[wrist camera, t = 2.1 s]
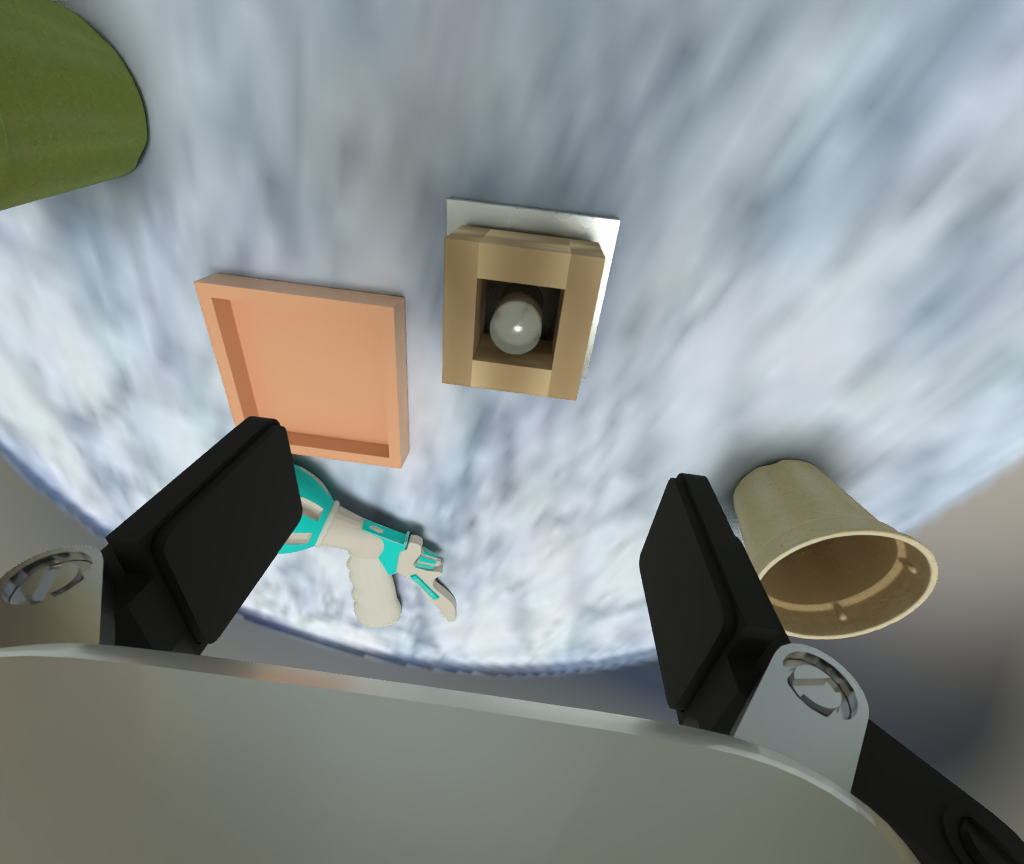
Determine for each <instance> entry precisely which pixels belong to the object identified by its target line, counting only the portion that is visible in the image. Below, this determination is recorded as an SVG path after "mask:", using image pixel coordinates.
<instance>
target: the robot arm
mask: <svg viewBox="0 0 1024 864" xmlns="http://www.w3.org/2000/svg"><path fill="white" fill-rule="evenodd" d="M302 513H303V507H302V502H301V498H300V493H299V488H298V483H297V478H296V473H295V469H294V464H293V459H292V454H291V449H290V445H289V440H288V435H287V431H286V428H285V427H284V426H281V425H280V423H279V422H278V420H276V419H272V418H265V417H257V416H249V417H248V418H246V419H245V420H244V421H242V422H241V423H240V424H239V425H238V426H236V427H235V428H234V429H233V430H232V431H231V432H229V433H228V434H227V435H226V436H225V437H223V438H222V439H221V440H220V441H219V442H218V443H216V444H215V445H214V446H213V447H212V448H210V449H209V450H208V451H207V452H206V453H205V454H203V455H202V456H201V457H200V458H199V459H197V460H196V461H195V462H194V463H193V464H192V465H190V466H189V467H188V468H187V469H186V470H184V471H183V472H182V473H181V474H180V475H179V476H177V477H176V478H175V479H174V480H173V481H171V482H170V483H169V484H168V485H167V486H166V487H164V488H163V489H162V490H161V491H160V492H158V493H157V494H156V495H155V496H154V497H153V498H151V499H150V500H149V501H148V502H147V503H145V504H144V505H143V506H142V507H141V508H140V509H138V510H137V511H136V512H135V513H134V514H132V515H131V516H130V517H129V518H128V519H127V520H125V521H124V522H123V523H122V524H121V525H119V526H118V527H117V528H116V529H115V530H114V531H112V532H111V533H110V534H109V535H108V536H106V537H105V538H106V539H107V541H108V543H109V544H108V545H107V546H106V547H105V548H103V549H102V550H101V551H99V550H97V549H96V548H95V547H90V546H85V545H73V546H72V545H70V546H65V547H60V548H55V549H52V550H49V551H46V552H43V553H41V554H38V555H35V556H33V557H31V558H29V559H27V560H25V561H24V562H21V563H20V564H18V565H17V566H15V567H14V568H12V569H11V570H9V571H8V572H6V573H5V574H4V575H3V576H2V577H1V578H0V864H1024V842H1023V841H1022V840H1021V839H1020V838H1019V837H1018V836H1017V834H1016V833H1015V832H1014V831H1013V830H1012V829H1010V828H1009V827H1008V826H1007V825H1006V824H1005V823H1003V822H1002V821H1001V820H1000V819H999V818H998V817H996V816H995V815H994V814H993V813H992V812H990V811H989V810H988V809H986V808H985V807H984V806H982V805H981V804H980V803H978V802H977V801H976V800H974V799H973V798H972V797H971V796H969V795H968V794H966V793H965V792H964V791H963V790H961V789H960V788H959V787H957V786H956V785H955V784H953V783H952V782H951V781H950V780H948V779H947V778H946V777H944V776H943V775H941V774H940V773H939V772H938V771H936V770H935V769H934V768H932V767H931V766H930V765H929V764H927V763H926V762H925V761H923V760H922V759H921V758H919V757H918V756H917V755H915V754H914V753H912V752H911V751H910V750H909V749H907V748H906V747H905V746H904V745H902V744H901V743H899V742H898V741H897V740H896V739H894V738H893V737H892V736H890V735H889V734H888V733H886V732H885V731H884V730H883V729H881V728H880V727H878V726H877V725H876V724H875V723H873V722H872V721H871V720H869V707H868V703H867V701H866V698H865V695H864V693H863V691H862V690H861V688H860V687H859V685H858V683H857V682H856V680H855V679H854V678H853V677H852V676H851V675H850V674H849V673H848V671H846V670H845V668H844V667H843V666H841V665H840V664H839V663H837V662H836V661H835V660H834V659H832V658H831V657H830V656H828V655H826V654H825V653H823V652H821V651H819V650H817V649H815V648H812V647H809V646H806V645H803V644H792V643H791V642H790V641H789V638H788V636H787V634H786V632H785V630H784V628H783V626H782V624H781V622H780V620H779V618H778V616H777V614H776V612H775V610H774V608H773V605H772V603H771V601H770V599H769V597H768V595H767V593H766V591H765V589H764V587H763V585H762V583H761V581H760V579H759V577H758V575H757V573H756V571H755V569H754V566H753V564H752V562H751V560H750V558H749V556H748V554H747V552H746V550H745V548H744V546H743V544H742V542H741V541H740V539H739V538H738V537H736V536H735V535H734V533H733V531H732V529H731V527H730V525H729V523H728V521H727V518H726V516H725V514H724V512H723V510H722V508H721V506H720V504H719V502H718V500H717V497H716V495H715V493H714V491H713V489H712V487H711V485H710V483H709V481H708V479H707V478H706V477H705V476H700V475H693V474H685V473H680V474H679V475H678V476H677V478H670V480H669V481H668V484H667V486H666V489H665V491H664V494H663V497H662V499H661V502H660V504H659V507H658V510H657V512H656V515H655V518H654V520H653V523H652V525H651V528H650V531H649V533H648V536H647V539H646V541H645V544H644V546H643V549H642V552H641V555H640V560H639V568H640V573H641V578H642V583H643V588H644V593H645V598H646V602H647V607H648V612H649V617H650V622H651V626H652V631H653V636H654V641H655V646H656V651H657V655H658V660H659V665H660V670H661V675H662V680H663V684H664V689H665V694H666V699H667V702H668V705H669V707H670V708H671V709H676V711H677V716H678V721H679V725H678V724H672V723H665V722H660V721H654V720H648V719H641V718H635V717H628V716H623V715H617V714H611V713H605V712H599V711H592V710H585V709H578V708H571V707H565V706H558V705H551V704H544V703H537V702H530V701H523V700H517V699H510V698H502V697H496V696H489V695H482V694H475V693H468V692H461V691H455V690H447V689H440V688H432V687H426V686H419V685H412V684H405V683H398V682H391V681H384V680H377V679H370V678H362V677H355V676H348V675H341V674H334V673H327V672H319V671H312V670H305V669H297V668H289V667H283V666H275V665H268V664H260V663H253V662H246V661H238V660H231V659H224V658H216V657H209V656H201V655H200V654H201V653H202V651H203V650H204V649H205V647H206V646H207V644H211V643H214V642H215V641H216V640H217V639H218V638H219V637H220V635H221V634H222V633H223V631H224V630H225V628H226V627H227V625H228V624H229V623H230V621H231V620H232V618H233V617H234V615H235V614H236V613H237V611H238V610H239V608H240V607H241V605H242V604H243V603H244V601H245V600H246V598H247V597H248V595H249V594H250V592H251V591H252V590H253V588H254V587H255V585H256V584H257V582H258V581H259V580H260V578H261V577H262V575H263V574H264V572H265V571H266V570H267V568H268V567H269V565H270V564H271V562H272V561H273V560H274V558H275V557H276V555H277V554H278V552H279V551H280V550H281V548H282V547H283V545H284V544H285V542H286V541H287V540H288V538H289V537H290V535H291V534H292V532H293V531H294V530H295V528H296V527H297V525H298V524H299V522H300V520H301V518H302Z"/></svg>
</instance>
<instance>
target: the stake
mask: <svg viewBox="0 0 1024 864" xmlns="http://www.w3.org/2000/svg"><path fill="white" fill-rule="evenodd" d="M461 225H464V226H472V227H480V228H488V229H496V230H504V231H512V232H519V233H527V234H535V235H543V236H551V237H559V238H567V239H575V240H583V241H591V242H598V243H599V245H600V247H601V249H602V251H603V253H604V256H605V258H606V260H605V265H604V270H603V275H602V279H601V284H600V289H599V294H598V299H597V303H596V308H595V313H594V318H593V322H592V327H591V332H590V337H589V342H588V346H587V351H586V356H585V361H584V365H583V370H582V375H581V378H586V377H587V372H588V368H589V363H590V359H591V354H592V349H593V345H594V340H595V335H596V331H597V326H598V322H599V317H600V312H601V308H602V303H603V299H604V294H605V289H606V285H607V280H608V276H609V271H610V266H611V262H612V257H613V252H614V248H615V243H616V239H617V234H618V229H619V225H620V220H619V219H618V218H612V217H604V216H596V215H588V214H580V213H572V212H564V211H556V210H548V209H540V208H532V207H524V206H516V205H508V204H500V203H492V202H484V201H476V200H468V199H460V198H452V197H450V198H448V199H447V222H446V237H447V236H448V235H450V234H451V233H452V232H453V231H455V230H456V229H457V228H459V227H460V226H461ZM560 292H561V289H558V288H551V287H543V286H535V285H527V284H519V283H512V282H504V281H496V280H488V279H487V292H486V306H485V321H484V332H485V333H490V334H491V337H492V340H493V342H494V343H495V344H496V346H497V347H498V348H500V349H501V350H502V351H504V352H506V353H509V354H523V353H526V352H528V351H530V350H531V349H533V348H534V347H535V346H536V344H537V343H538V341H539V340H546V341H553V335H554V329H555V322H556V316H557V310H558V304H559V298H560Z"/></svg>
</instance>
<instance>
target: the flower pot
mask: <svg viewBox="0 0 1024 864" xmlns="http://www.w3.org/2000/svg"><path fill="white" fill-rule="evenodd" d="M733 504H734V510H735V512H736V515H737V519H738V522H739V526H740V529H741V533H742V537H743V540H744V544H745V548H746V552H747V554H748V556H749V558H750V560H751V562H752V564H753V566H754V569H755V571H756V573H757V575H758V577H759V579H760V581H761V583H762V585H763V587H764V589H765V591H766V593H767V595H768V597H769V599H770V601H771V603H772V605H773V608H774V610H775V612H776V614H777V616H778V618H779V620H780V622H781V624H782V626H783V628H784V630H785V632H786V634H787V635H789V636H794V637H799V638H807V639H839V638H847V637H852V636H858V635H862V634H865V633H869V632H872V631H874V630H879V629H881V628H883V627H886V626H887V625H889V624H892V623H894V622H896V621H899V620H900V619H901V618H903V617H905V616H906V615H908V614H909V613H911V612H912V611H913V610H915V609H916V608H917V607H918V606H919V605H921V604H922V603H923V602H924V600H926V598H928V596H929V595H930V593H931V592H932V591H933V589H934V587H935V583H936V582H937V578H938V564H937V562H936V560H935V557H934V555H933V554H932V553H931V552H930V551H929V549H927V548H926V547H925V546H924V545H923V544H922V543H920V542H919V541H918V540H916V539H914V538H913V537H911V536H908V535H906V534H903V533H900V532H898V531H896V530H895V529H894V528H892V527H891V526H889V525H887V524H885V523H883V522H880V521H878V520H877V519H876V518H875V517H874V516H873V515H871V514H870V513H869V512H868V511H867V510H866V509H864V508H863V507H862V506H861V505H860V504H859V503H857V502H856V501H855V500H854V499H853V498H852V497H850V496H849V495H848V494H847V493H846V492H845V491H843V490H842V489H841V488H840V487H839V486H838V485H836V484H835V483H834V482H833V481H832V480H831V479H830V478H829V477H827V476H826V475H825V474H824V473H823V472H822V471H821V470H820V469H818V468H817V467H815V466H814V465H812V464H810V463H807V462H804V461H798V460H781V461H779V462H777V463H775V464H771V465H767V466H761V467H758V468H756V469H754V470H753V471H751V472H750V473H748V474H747V475H746V476H745V477H744V478H743V479H742V480H741V481H740V483H739V484H738V486H737V487H736V489H735V492H734V495H733Z"/></svg>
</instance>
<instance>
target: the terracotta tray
mask: <svg viewBox="0 0 1024 864" xmlns="http://www.w3.org/2000/svg"><path fill="white" fill-rule="evenodd" d="M194 285H195V288H196V292H197V295H198V298H199V302H200V305H201V309H202V312H203V316H204V319H205V323H206V326H207V330H208V333H209V337H210V340H211V343H212V347H213V350H214V354H215V357H216V361H217V364H218V368H219V371H220V375H221V378H222V381H223V385H224V388H225V392H226V395H227V399H228V402H229V406H230V409H231V413H232V416H233V420H234V423H235V426H238V425H239V424H240V423H241V422H242V421H244V420H245V419H246V418H248V417H249V416H257V417H265V418H272V419H276V420H278V422H279V423H280V425H281V426H284V427H285V428H286V431H287V435H288V440H289V445H290V449H291V454H298V455H305V456H312V457H320V458H327V459H334V460H342V461H349V462H356V463H364V464H371V465H378V466H386V467H393V468H402V466H403V464H404V462H405V460H406V458H407V456H408V453H409V423H408V391H407V360H406V328H405V297H398V296H390V295H382V294H375V293H367V292H359V291H351V290H344V289H336V288H328V287H321V286H313V285H305V284H297V283H290V282H282V281H274V280H267V279H259V278H251V277H243V276H236V275H228V274H220V273H217V274H214V275H211V276H208V277H205V278H203V279H200V280H197V281H194Z"/></svg>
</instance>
